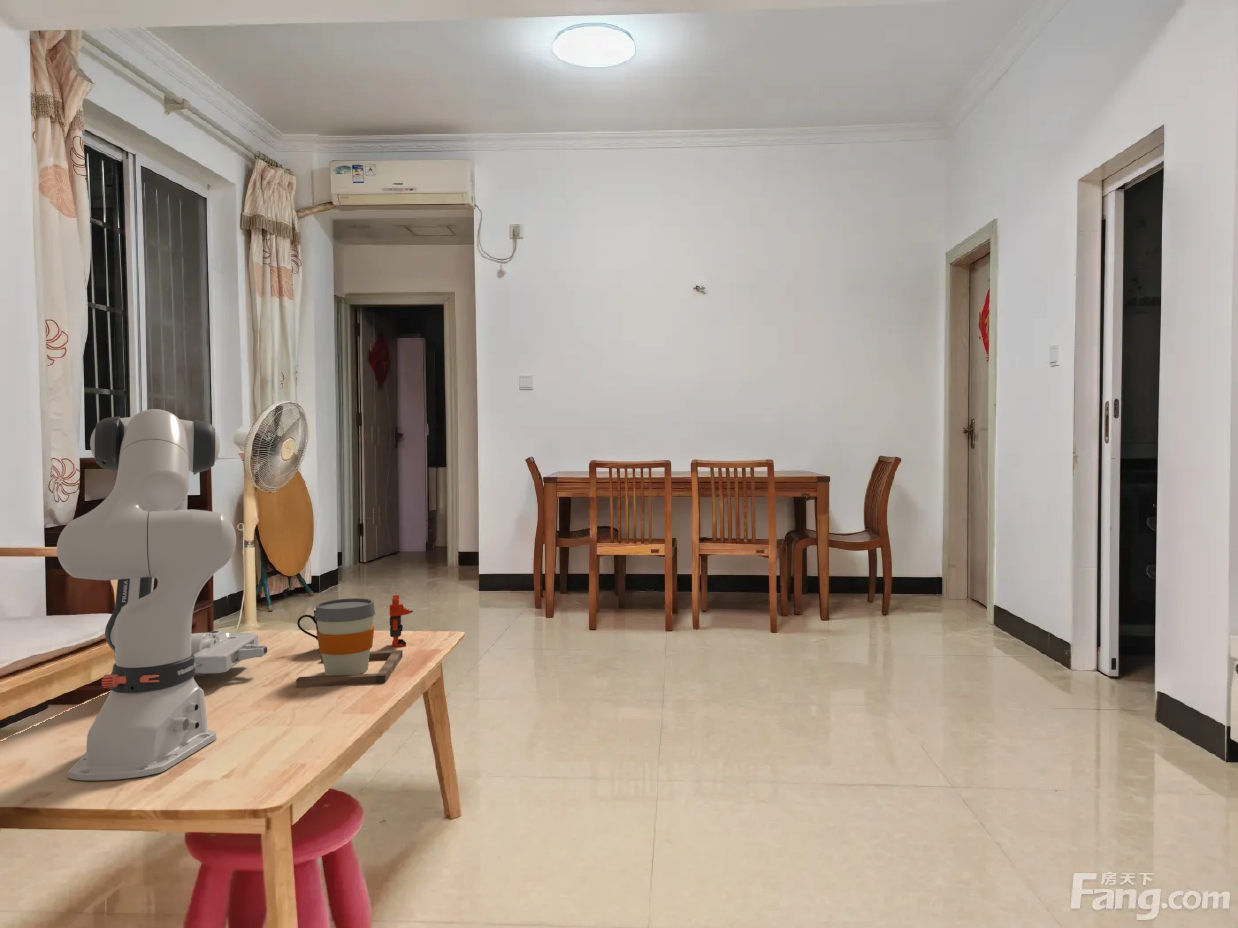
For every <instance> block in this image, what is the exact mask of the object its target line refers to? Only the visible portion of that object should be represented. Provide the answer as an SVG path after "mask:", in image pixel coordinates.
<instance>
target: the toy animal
mask: <svg viewBox="0 0 1238 928" xmlns="http://www.w3.org/2000/svg"><path fill="white" fill-rule="evenodd" d="M413 612H414V611H413V610H410V609H409V608H407V607H406V604H404V603H400V595H398V594H395V595H392V599H391V603H390V605H389V616H390V617H389V626H390V628H389V637H391V638H392V639H393V640H391V641H392V643H391V647H392V648H402V647H407V646H406V645H407V641H405V640H404V639H403V638H401V639H400V637H401V636H402V632H403V624H402V616H405V615H406V616H407V615H410V614H412V613H413Z"/></svg>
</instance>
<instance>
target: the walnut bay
mask: <svg viewBox="0 0 1238 928" xmlns="http://www.w3.org/2000/svg"><path fill="white" fill-rule="evenodd" d="M403 657H404V655H403V650H402V649H401V650H400V649H398V650H375V651H372V650H371V651H370V655H369V661H377V660H376V659H385V660H386V661H385V662H384V664H382V666H381V668H380V669H379V670H378V671H377V672H376V673H375V672H374V673H362V674H352V675H330V676H327V675H314V676H298V677H297V678H296V679H295V687H297V688H301V687H303V688H305V687H323V686H324V687H325V686H343V685H347V684H348V685H361V684H360V683H369V684H384V683H383V682H387V681H388V680H389V678H390V677H391V675H392V674H393V672H394V671H395V669H396V667H397V666H398V665H399V663H400V661H401V660H402V658H403ZM320 663H324V662H323V656H322V654H321V655H320ZM391 673H392V674H391ZM377 682H379V683H377Z"/></svg>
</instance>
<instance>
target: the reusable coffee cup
mask: <svg viewBox="0 0 1238 928" xmlns="http://www.w3.org/2000/svg"><path fill="white" fill-rule="evenodd" d="M315 608H316V611H315V620H317V626H318V630H316V636H317V638H318V640H317V643H318V649H319V650H318V651H319V652H320V654H321V655H322V656H323V662H322V663H323V667H324V668H323V669H324V673H325V676H330V675H352V674H360V673H362V674H366V672H367V670H369V663H370V660H369V655H370V652H371V649H372V648H373V645H374V635H375V634H374V633H375V626H374V625H373V623H374V616H375V615H376V610H375V602H374V600H373V599H370V598H364V597H363V598H362V597H359V598H358V597H354V598H351V597H350V598H349V597H347V598H338V599H331V600H327V601H322V602H319V603H317V604H316V605H315Z"/></svg>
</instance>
